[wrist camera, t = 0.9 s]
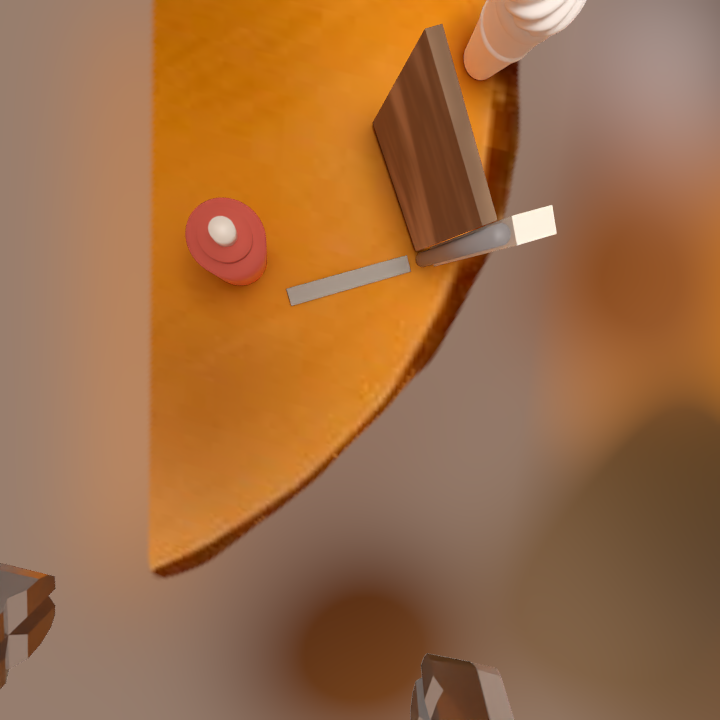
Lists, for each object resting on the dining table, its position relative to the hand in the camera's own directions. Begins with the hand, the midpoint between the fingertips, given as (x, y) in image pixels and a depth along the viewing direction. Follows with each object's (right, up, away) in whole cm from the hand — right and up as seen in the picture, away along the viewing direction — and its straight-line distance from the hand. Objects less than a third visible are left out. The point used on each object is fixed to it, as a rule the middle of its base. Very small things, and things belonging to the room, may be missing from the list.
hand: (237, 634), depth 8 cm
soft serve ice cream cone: (+17, +42, +36) cm, 58 cm away
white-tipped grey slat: (+5, +17, +36) cm, 40 cm away
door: (+8, +27, +35) cm, 45 cm away
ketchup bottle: (-11, +17, +32) cm, 38 cm away
